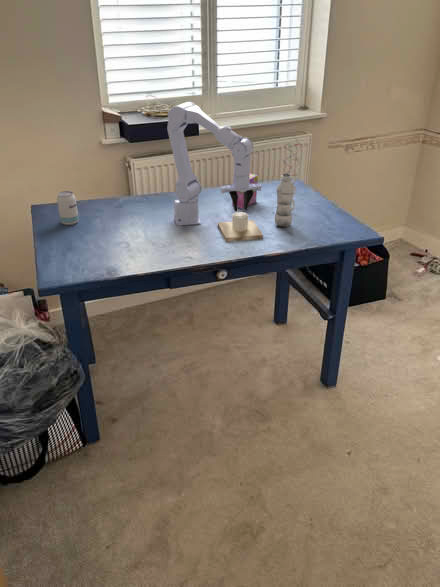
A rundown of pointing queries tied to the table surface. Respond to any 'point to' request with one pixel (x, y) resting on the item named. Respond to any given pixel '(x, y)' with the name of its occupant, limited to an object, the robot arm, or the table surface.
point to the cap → (240, 221)
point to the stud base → (233, 235)
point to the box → (241, 194)
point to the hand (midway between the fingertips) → (240, 210)
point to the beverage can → (67, 208)
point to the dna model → (290, 166)
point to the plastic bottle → (284, 201)
